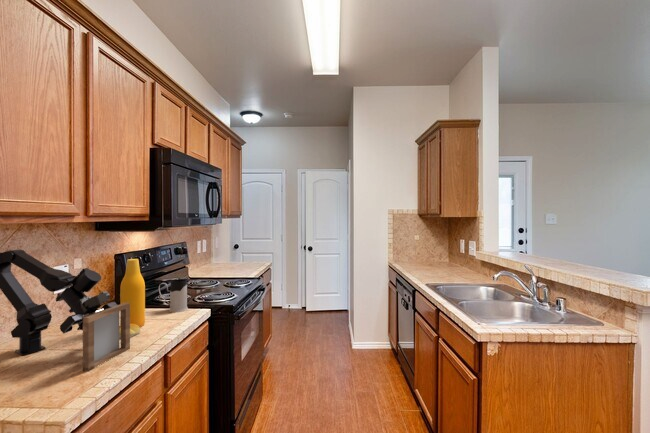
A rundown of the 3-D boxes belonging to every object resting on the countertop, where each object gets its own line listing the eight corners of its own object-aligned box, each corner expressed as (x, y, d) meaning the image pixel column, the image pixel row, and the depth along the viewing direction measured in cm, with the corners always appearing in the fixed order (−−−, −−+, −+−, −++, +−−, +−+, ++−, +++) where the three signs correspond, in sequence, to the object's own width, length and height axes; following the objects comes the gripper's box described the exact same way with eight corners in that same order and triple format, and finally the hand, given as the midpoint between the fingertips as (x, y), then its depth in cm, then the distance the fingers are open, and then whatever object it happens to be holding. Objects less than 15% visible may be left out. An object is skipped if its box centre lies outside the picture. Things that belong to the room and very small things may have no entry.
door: (72, 364, 101) (72, 320, 101) (105, 348, 113) (105, 309, 113) (88, 365, 100) (88, 321, 100) (119, 349, 112) (119, 309, 112)
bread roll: (108, 337, 125) (108, 327, 125) (130, 330, 133) (130, 320, 133) (123, 341, 122) (123, 330, 122) (144, 333, 130) (144, 323, 130)
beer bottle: (115, 330, 133) (115, 261, 133) (128, 322, 142) (128, 258, 142) (137, 330, 133) (137, 261, 133) (149, 322, 142) (149, 258, 142)
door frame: (82, 370, 98) (82, 317, 98) (124, 348, 115) (124, 302, 115) (88, 371, 97) (88, 317, 97) (129, 348, 114) (129, 302, 114)
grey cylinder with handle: (184, 312, 157) (184, 282, 157) (154, 312, 156) (154, 282, 156) (190, 307, 166) (190, 278, 166) (162, 307, 165) (162, 278, 165)
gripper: (67, 292, 102) (97, 328, 100) (113, 280, 120) (140, 310, 119) (46, 315, 103) (76, 351, 102) (95, 300, 122) (121, 330, 120)
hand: (106, 334), depth 111 cm, fingers closed on door, 2 cm apart
